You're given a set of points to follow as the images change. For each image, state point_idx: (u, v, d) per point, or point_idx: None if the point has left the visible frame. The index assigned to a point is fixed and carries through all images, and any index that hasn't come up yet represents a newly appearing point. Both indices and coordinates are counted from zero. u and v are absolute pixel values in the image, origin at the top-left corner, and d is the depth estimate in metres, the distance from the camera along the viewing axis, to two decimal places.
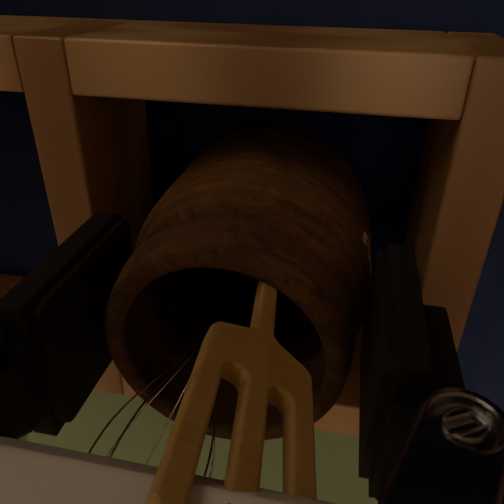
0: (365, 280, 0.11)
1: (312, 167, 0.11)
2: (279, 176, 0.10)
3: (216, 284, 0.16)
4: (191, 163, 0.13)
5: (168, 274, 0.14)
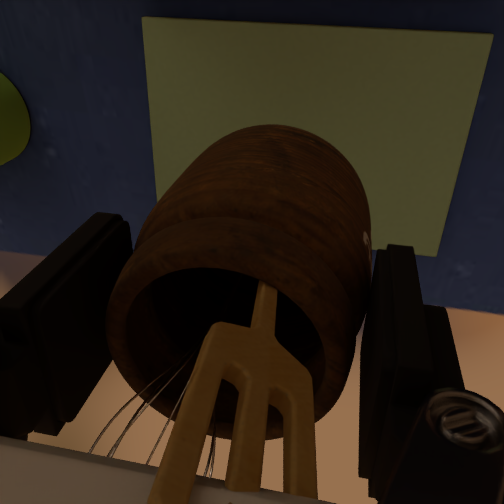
0: (365, 280, 0.11)
1: (312, 167, 0.11)
2: (279, 176, 0.10)
3: (216, 284, 0.16)
4: (191, 163, 0.13)
5: (168, 274, 0.14)
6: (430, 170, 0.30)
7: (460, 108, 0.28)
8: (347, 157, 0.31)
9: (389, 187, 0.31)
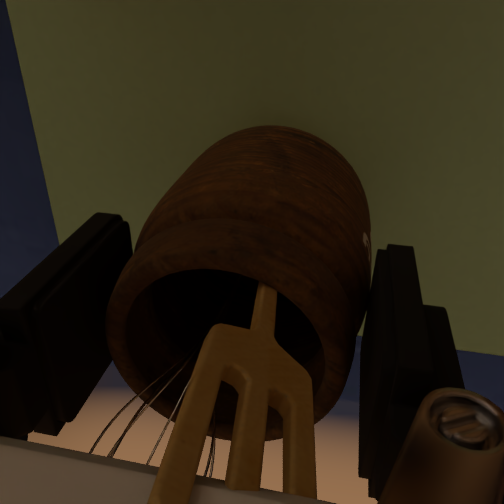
0: (365, 281, 0.11)
1: (312, 168, 0.11)
2: (279, 177, 0.10)
3: (216, 284, 0.16)
4: (191, 164, 0.13)
5: (168, 275, 0.14)
6: None
7: None
8: (373, 197, 0.17)
9: (447, 247, 0.18)
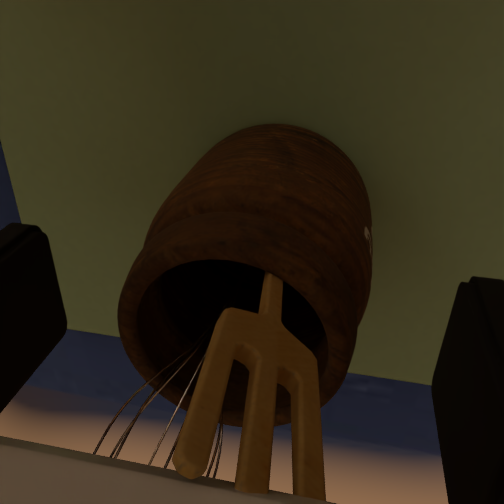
0: (366, 273, 0.11)
1: (315, 165, 0.12)
2: (284, 173, 0.11)
3: (221, 278, 0.16)
4: (198, 161, 0.13)
5: (175, 269, 0.14)
6: None
7: None
8: (376, 227, 0.16)
9: (458, 282, 0.16)
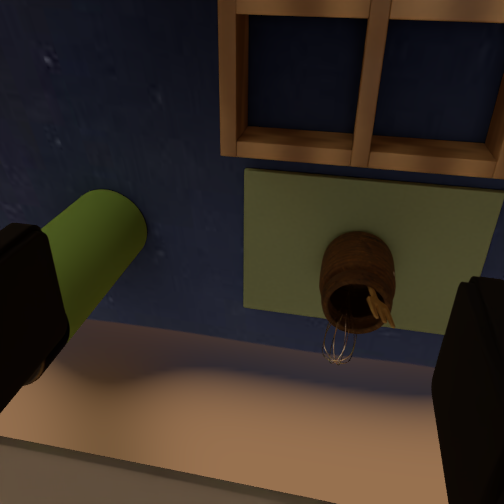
0: (394, 286, 0.36)
1: (377, 251, 0.37)
2: (370, 256, 0.36)
3: None
4: (334, 247, 0.39)
5: None
6: (458, 278, 0.40)
7: (480, 238, 0.38)
8: (395, 267, 0.41)
9: (426, 288, 0.41)
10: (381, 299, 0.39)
